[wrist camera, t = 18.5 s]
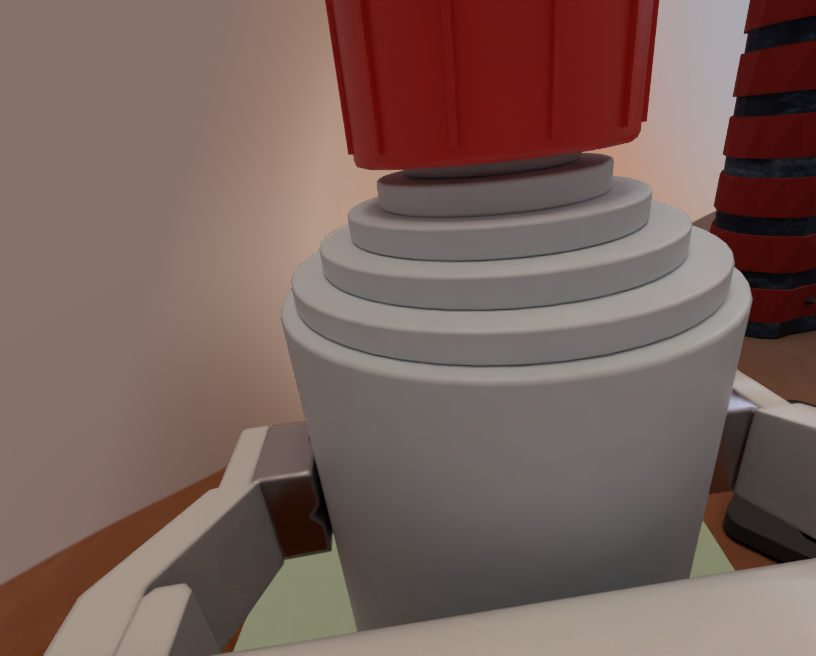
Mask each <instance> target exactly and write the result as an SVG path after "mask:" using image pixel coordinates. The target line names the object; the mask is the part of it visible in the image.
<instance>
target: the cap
mask: <svg viewBox="0 0 816 656" xmlns="http://www.w3.org/2000/svg"><path fill="white" fill-rule="evenodd" d="M325 3H326V10H327V16H328V22H329V29H330V36H331V42H332V49H333V56H334V63H335V69H336V76H337V82H338V89H339V96H340V102H341V109H342V115H343V122H344V128H345V135H346V141H347V148H348V154H349V155H351V154H353V156H354V162H355V164H356V166H357V167H359V168H364V169H369V170H407V169H424V168H439V167H453V166H466V165H478V164H487V163H497V162H506V161H516V160H525V159H535V158H540V157H541V158H543V157H550V156H556V155H563V154H570V153H577V152H584V151H590V150H595V149H602V148H607V147H611V146H615V145H620V144H624V143H628V142H631V141H633V140H634V139H635V138H637V137H638V135H639V133H640V131H641V122H646V121H647V112H648V103H649V93H650V84H651V73H652V64H653V55H654V45H655V35H656V26H657V16H658V6H659V0H325Z"/></svg>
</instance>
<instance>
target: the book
mask: <svg viewBox="0 0 816 656" xmlns="http://www.w3.org/2000/svg"><path fill="white" fill-rule="evenodd" d="M744 34H748V37H747V42H746V48H745V53H744V54H741V57H740V62H739V67H738V72H737V78H736V82H735V88H734V93H733V97H737V99H736V104H735V110H734V116H731V117H730V120H729V125H728V130H727V135H726V141H725V145H724V151H723V155H725V156H726V161H725V167H724V170H722V172H721V173H720V177H719V182H718V187H717V192H716V197H715V203H714V207H715V208H716V209H717V212H716V217H715V220H713V222H712V224H711V228H710V233H711V234H713V235H715V236H717V237H718V238H720V239H721V240H722V241H724V242H725V243H726V244H727V245H728V247H729V248H730V249H731V251H732V253H733V257H734V263H735V265H734V267H735V268H736V269H738V270H739V271H740V272H741V273H742V274H743V276H744V277H745V279H746V280H747V281H748V283H749V286H750V290H751V294H752V298H753V300H752V305H751V309H750V314H749V318H748V322H747V327H746V331H745V335H746V336H753V337H763V338H779V337H782V336H785V335H788V334H790V333H796V332H802V331H809V330H815V329H816V0H750V4H749V9H748V14H747V19H746V25H745V30H744Z"/></svg>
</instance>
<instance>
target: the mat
mask: <svg viewBox="0 0 816 656" xmlns="http://www.w3.org/2000/svg"><path fill="white" fill-rule="evenodd" d="M732 571H735V570H734V568H733V566H732V565H731V563H730V562H729V560H728V559H727V557H726V556H725V554H724V552H723V551H722V549H721V548H720V546H719V545H718V543H717V541H716V540H715V538H714V537H713V535H712V534H711V532H710V531H709V529H708V527H707V526H706V524H705V523H704V521H702V525H701V529H700V534H699V538H698V543H697V547H696V551H695V556H694V560H693V565H692V569H691V573H690V578H695V577H701V576H707V575H713V574H719V573H726V572H732ZM354 632H357V628H356V624H355V620H354V616H353V612H352V608H351V604H350V600H349V596H348V592H347V588H346V583H345V579H344V575H343V571H342V567H341V563H340V559H339V555H338V551H337V547H336V543H335V538H334V534H333V538H332V550H331V552H326V553H321V554H315V555H310V556H304V557H299V558H293V559H288V560H284V565H283V566H282V567H281V569H280V570H279V572H278V573H277V574H276V576H275V577H274V579H273V580H272V582H271V583H270V584H269V586H268V587H267V589H266V590H265V592H264V593H263V594H262V596H261V597H260V599H259V600H258V602H257V603H256V604H255V606H254V607H253V609H252V610H251V612H250V613H249V614H248V616H247V618H246V621H245V623H244V626H243V628H242V630H241V633H240V635H239V638H238V640H237V643H236V645H235V648H234V650H233V652H236V651H242V650H248V649H255V648H261V647H267V646H273V645H279V644H285V643H292V642H298V641H304V640H310V639H316V638H323V637H329V636H335V635H341V634H347V633H354Z"/></svg>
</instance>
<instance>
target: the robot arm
mask: <svg viewBox="0 0 816 656" xmlns="http://www.w3.org/2000/svg"><path fill="white" fill-rule="evenodd" d="M730 491H734V492H733V493H734V494H735V495H737V496H739V497H741V498H743V499H744V500H746V501H748V502H750V503H752V504H753V505H755V506H757V507H759V508H761V509H762V510H764V511H766V512H768V513H770V514H771V515H773V516H775V517H777V518H779V519H780V520H782V521H784V522H786V523H788V524H789V525H791V526H793V527H795V528H797V529H798V530H800V531H802V532H804V533H805V534H807V535H809V536H811V537H813V538H814V539H816V407H812V406H809V405H805V404H801V403H795V404H790V403H789V402H787V401H786V400H784V399H783V398H781V397H779V396H778V395H776V394H775V393H773V392H772V391H770V390H768V389H767V388H765V387H764V386H762V385H761V384H759V383H757V382H756V381H754V380H753V379H751V378H750V377H748V376H746V375H745V374H743V373H742V372H740V371H738V370H737V371H736V375H735V380H734V384H733V388H732V393H731V397H730V402H729V406H728V410H727V415H726V419H725V424H724V428H723V432H722V437H721V441H720V446H719V450H718V455H717V459H716V463H715V468H714V472H713V477H712V481H711V485H710V490H709V494H714V493H722V492H730ZM332 538H333V530H332V526H331V522H330V518H329V514H328V510H327V506H326V502H325V498H324V493H323V489H322V485H321V481H320V477H319V473H318V469H317V465H316V461H315V457H314V453H313V448H312V444H311V440H310V436H309V432H308V428H307V424H306V421H303V422H294V423H287V424H279V425H278V424H277V425H272V426H262V427H255V428H248V429H245V430H244V431H243V432H242V433H241V434H240V437H239V439H238V442H237V444H236V447H235V449H234V451H233V454H232V456H231V459H230V461H229V464H228V466H227V468H226V471H225V473H224V476H223V478H222V481H221V483H220V486H219V488H216V489H210V490H209V491H208V492H207V493H205V494H204V495H203V496H202V497H200V498H199V499H198V500H197V501H196V502H194V503H193V504H192V505H191V506H189V507H188V508H187V509H186V510H185V511H183V512H182V513H181V514H180V515H178V516H177V517H176V518H175V519H174V520H172V521H171V522H170V523H169V524H167V525H166V526H165V527H164V528H163V529H161V530H160V531H159V532H158V533H156V534H155V535H154V536H153V537H152V538H150V539H149V540H148V541H147V542H145V543H144V544H143V545H142V546H141V547H139V548H138V549H137V550H136V551H134V552H133V553H132V554H131V555H130V556H128V557H127V558H126V559H125V560H123V561H122V562H121V563H120V564H119V565H117V566H116V567H115V568H114V569H112V570H111V571H110V572H109V573H108V574H106V575H105V576H104V577H103V578H101V579H100V580H99V581H98V582H97V583H95V584H94V585H93V586H92V587H90V588H89V589H88V590H87V591H86V592H84V593H83V594H82V595H81V596H79V598H78V599H77V601H76V603H75V604H74V606H73V608H72V609H71V611H70V612H69V614H68V616H67V617H66V619H65V621H64V622H63V624H62V626H61V627H60V629H59V630H58V632H57V634H56V635H55V637H54V639H53V640H52V642H51V643H50V645H49V647H48V648H47V650H46V652H45V653H44V655H43V656H816V558H813V559H806V560H800V561H794V562H788V563H782V564H775V565H769V566H763V567H757V568H751V569H744V570H738V571H732V572H726V573H719V574H713V575H707V576H701V577H695V578H688V579H682V580H676V581H670V582H664V583H657V584H651V585H645V586H639V587H633V588H626V589H620V590H614V591H608V592H602V593H595V594H589V595H583V596H577V597H571V598H564V599H558V600H552V601H546V602H540V603H533V604H527V605H521V606H515V607H509V608H502V609H496V610H490V611H484V612H478V613H471V614H465V615H459V616H453V617H447V618H440V619H434V620H428V621H422V622H416V623H409V624H403V625H397V626H391V627H385V628H378V629H372V630H366V631H360V632H354V633H347V634H341V635H335V636H329V637H323V638H316V639H310V640H304V641H298V642H292V643H285V644H279V645H273V646H267V647H261V648H255V649H248V650H242V651H236V652H230V653H224V654H221V653H222V652H223V650H224V649H225V647H226V646H227V644H228V643H229V642H230V640H231V639H232V637H233V636H234V634H235V633H236V632H237V630H238V629H239V627H240V626H241V624H242V623H243V622H244V620H245V619H246V617H247V616H248V614H249V613H250V612H251V610H252V609H253V607H254V606H255V604H256V603H257V602H258V600H259V599H260V597H261V596H262V594H263V593H264V592H265V590H266V589H267V587H268V586H269V584H270V583H271V582H272V580H273V579H274V577H275V576H276V574H277V573H278V572H279V570H280V569H281V567H282V566H283V565H284V560H288V559H293V558H299V557H304V556H310V555H315V554H321V553H326V552H331V550H332Z"/></svg>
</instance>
